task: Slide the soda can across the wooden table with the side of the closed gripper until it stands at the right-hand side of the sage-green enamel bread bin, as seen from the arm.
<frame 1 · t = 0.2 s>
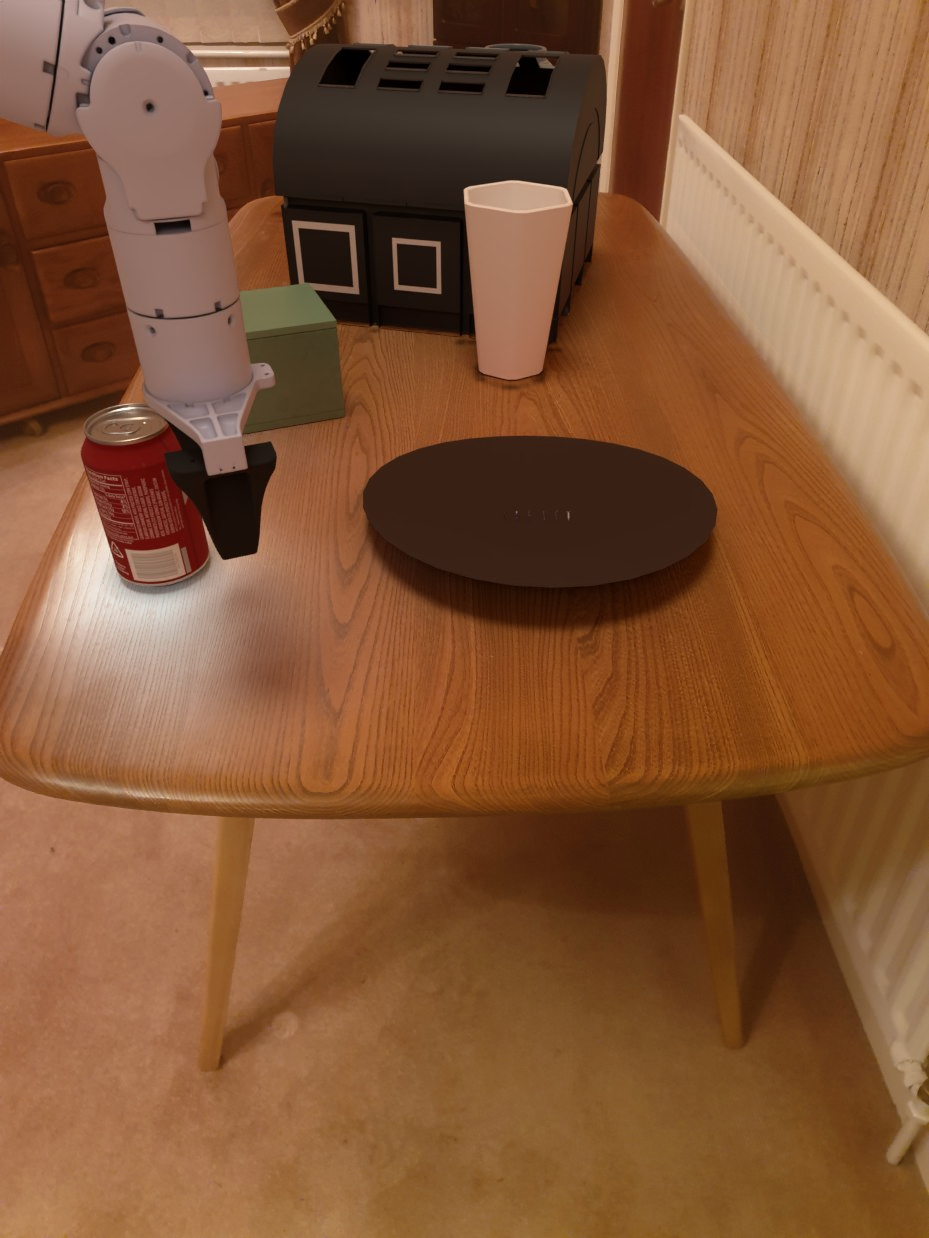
hand: (227, 520, 53), 9 cm above the table, tool pointing down, fingers open, 7 cm apart
vase: (508, 226, 134), on the table
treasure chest: (453, 288, 112), on the table
cup: (509, 367, 93), on the table
bread bin: (270, 404, 86), on the table
bread bin lid: (251, 294, 79), point 11 cm above the table, hinge at 0.0°
plate: (535, 519, 71), on the table
soda can: (166, 568, 65), on the table
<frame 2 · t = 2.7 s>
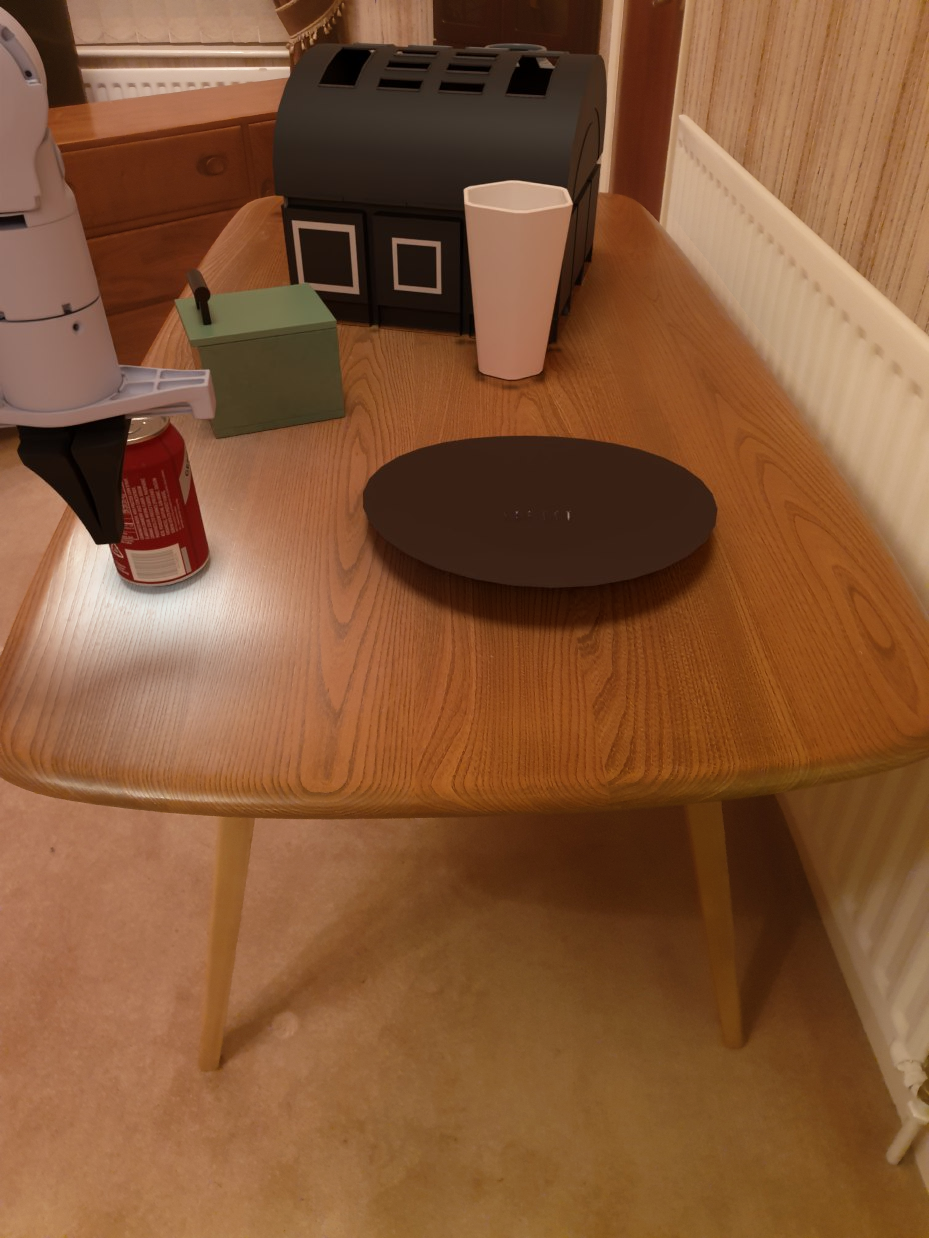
hand: (110, 534, 50), 10 cm above the table, tool pointing down, fingers closed
nothing on the table moved.
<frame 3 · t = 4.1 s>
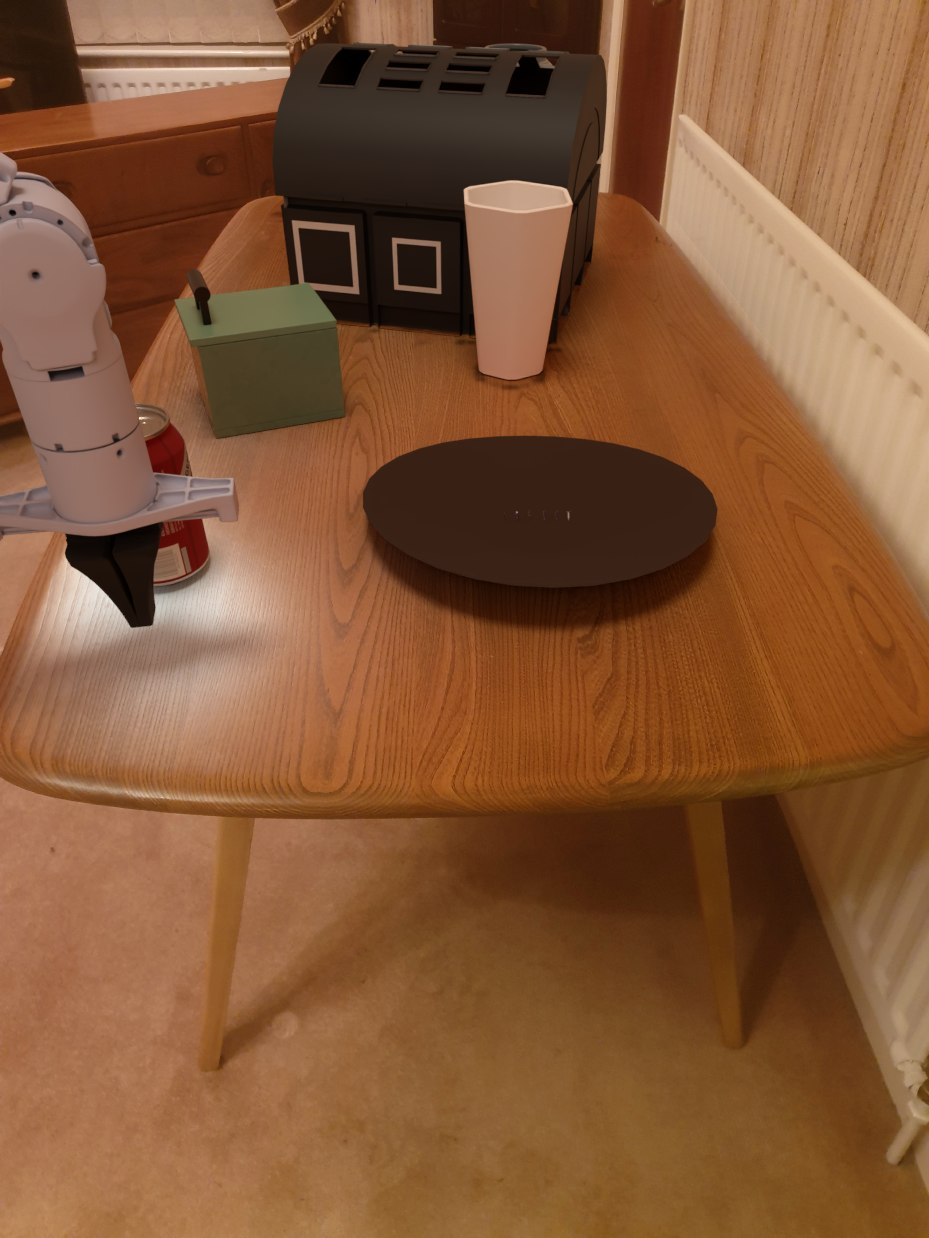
hand: (143, 617, 56), 3 cm above the table, tool pointing down, fingers closed
nothing on the table moved.
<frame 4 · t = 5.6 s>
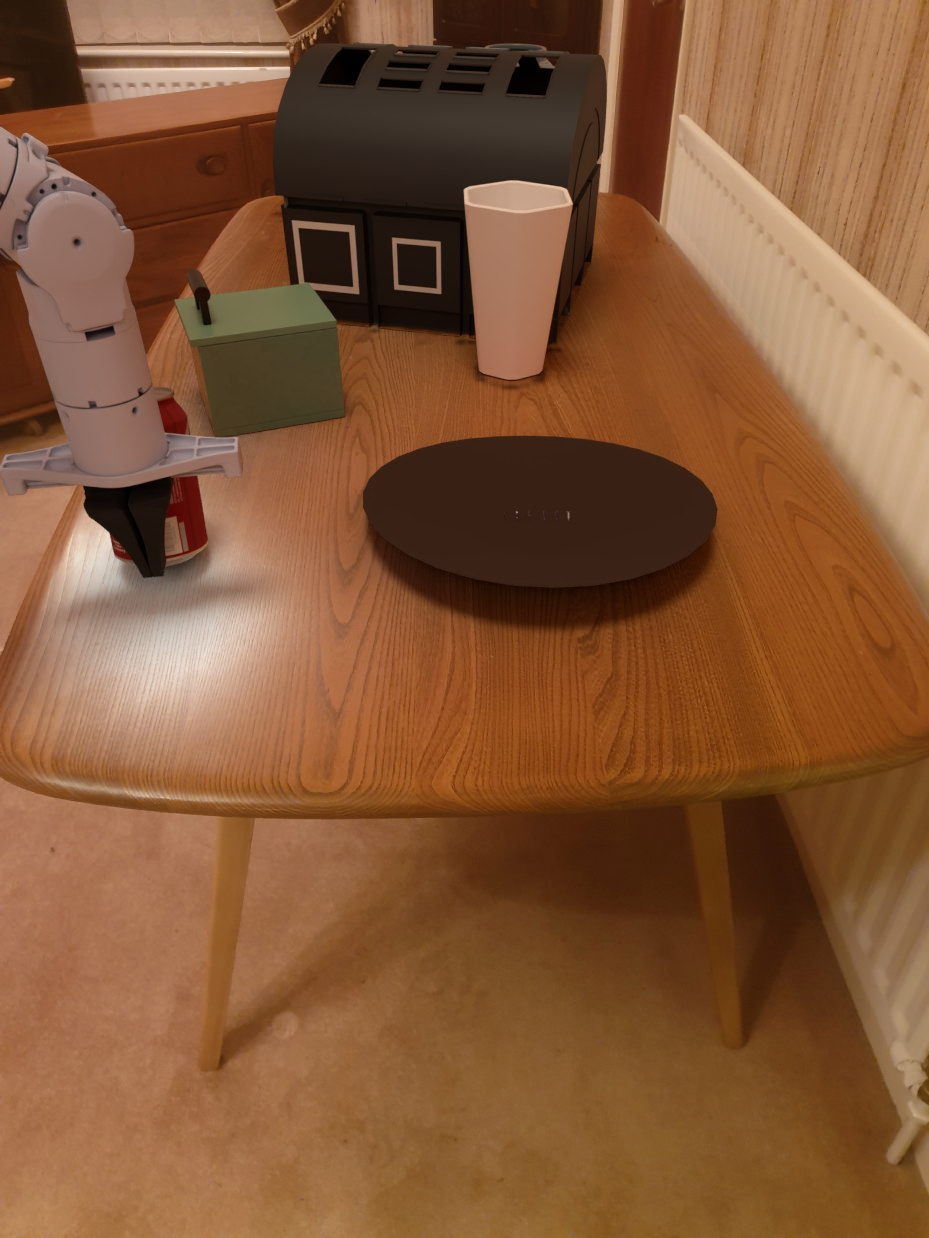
hand: (154, 569, 61), 3 cm above the table, tool pointing down, fingers closed, pressing on soda can
soda can: (163, 558, 65), point 1 cm above the table, touching gripper
everything else where it was.
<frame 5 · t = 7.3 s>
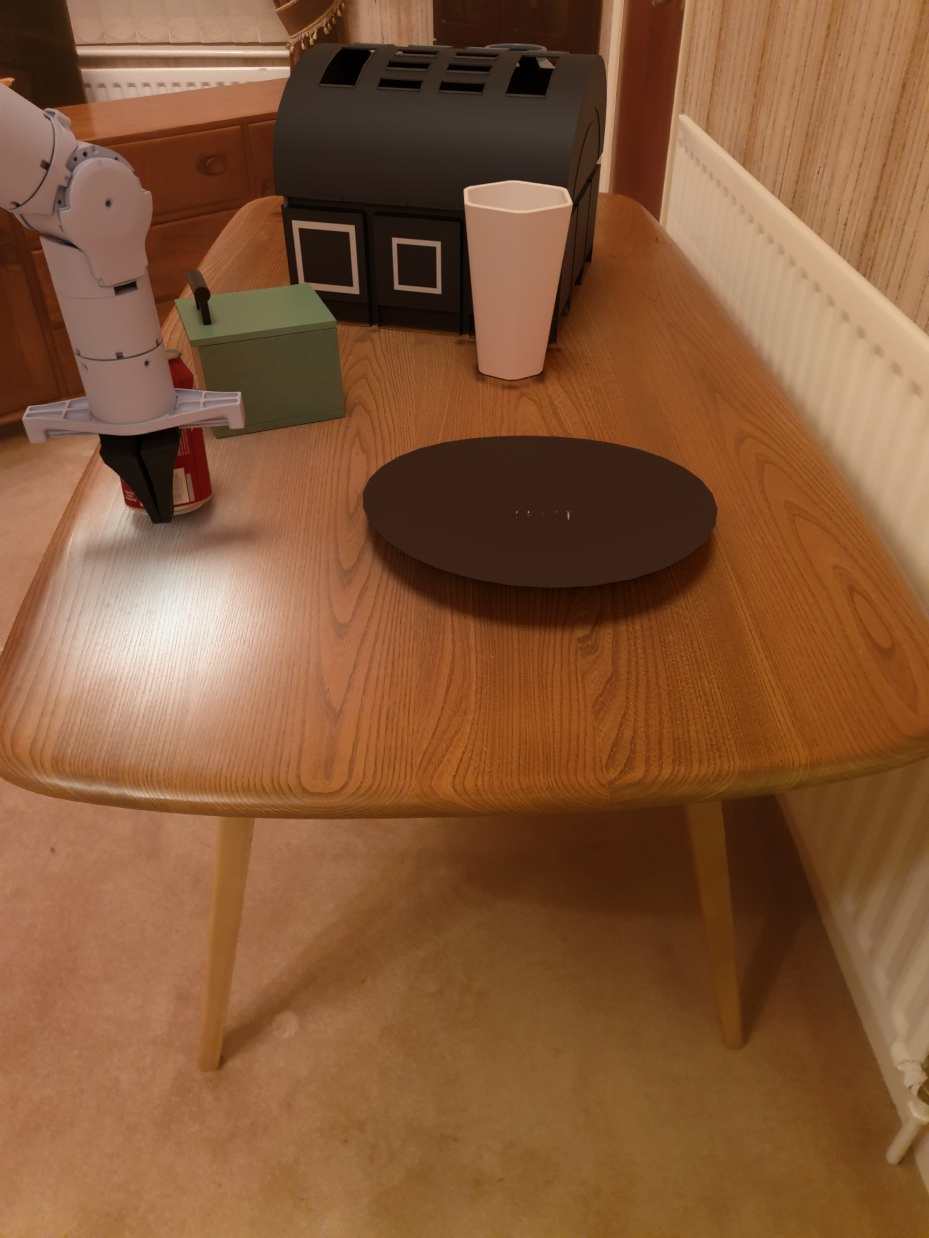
hand: (163, 516, 66), 3 cm above the table, tool pointing down, fingers closed, pressing on soda can
soda can: (171, 509, 70), point 1 cm above the table, touching gripper
everything else where it was.
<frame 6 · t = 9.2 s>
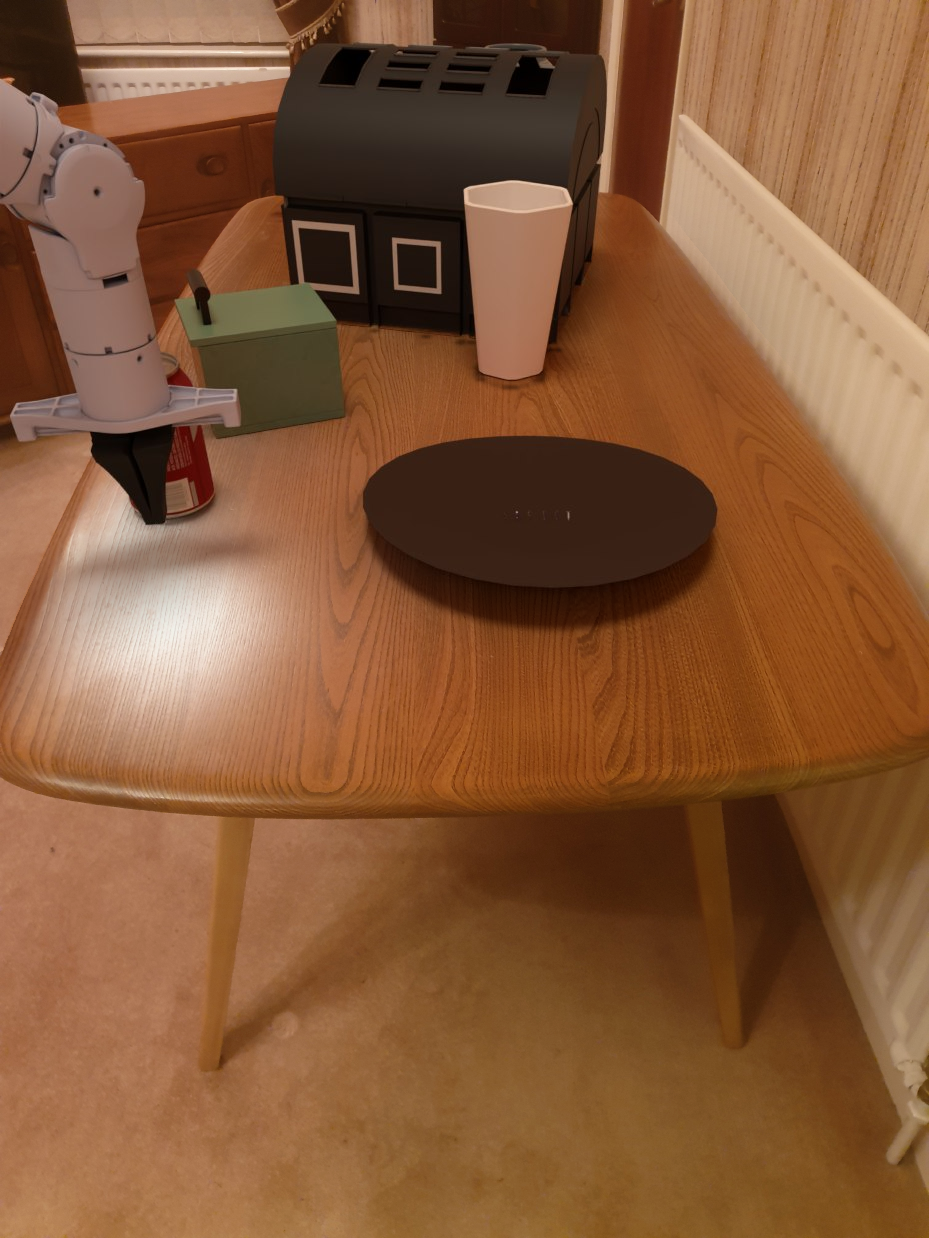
hand: (156, 517, 64), 4 cm above the table, tool pointing down, fingers closed
soda can: (175, 504, 72), on the table
everything else where it was.
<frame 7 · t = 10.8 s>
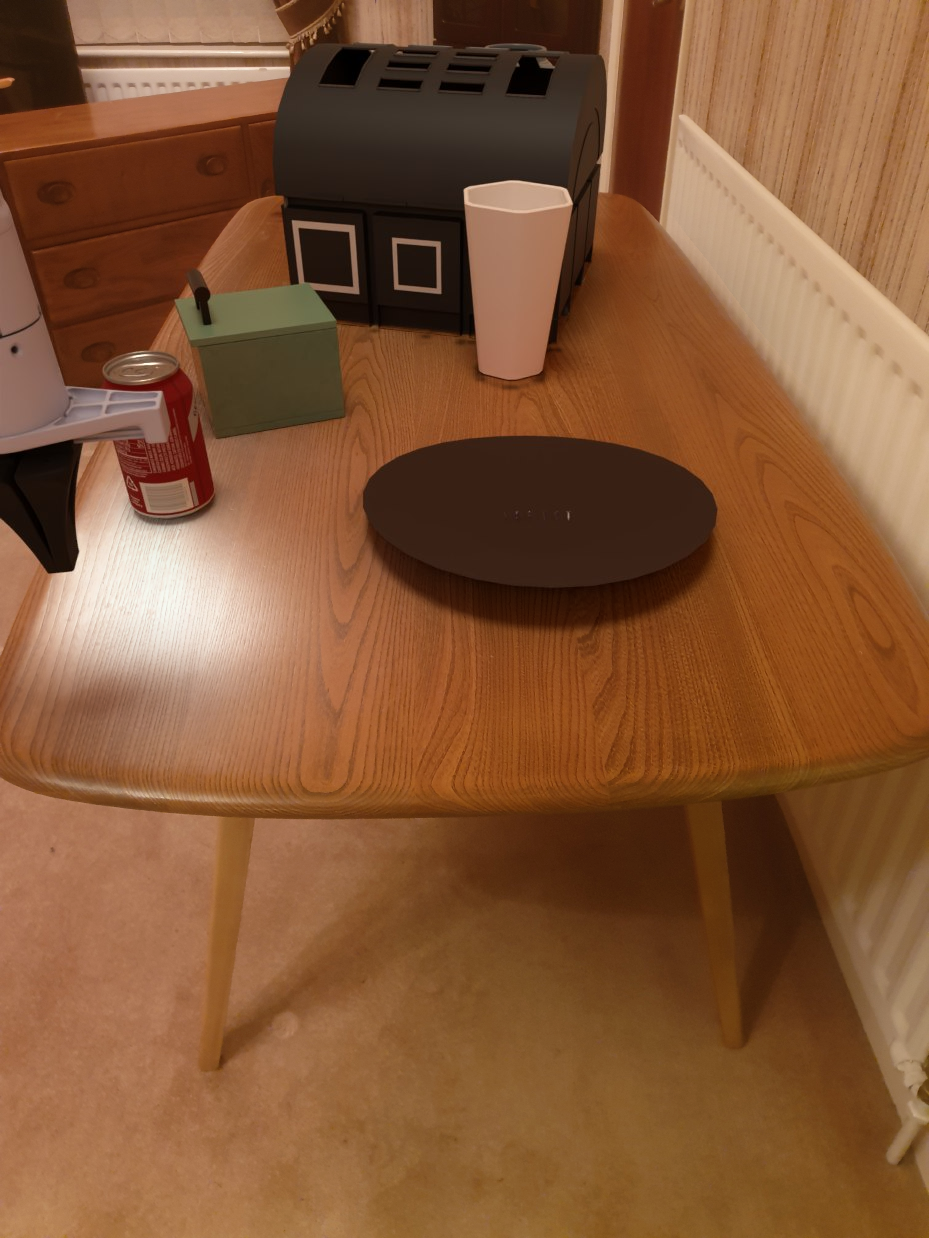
hand: (63, 562, 48), 10 cm above the table, tool pointing down, fingers closed
nothing on the table moved.
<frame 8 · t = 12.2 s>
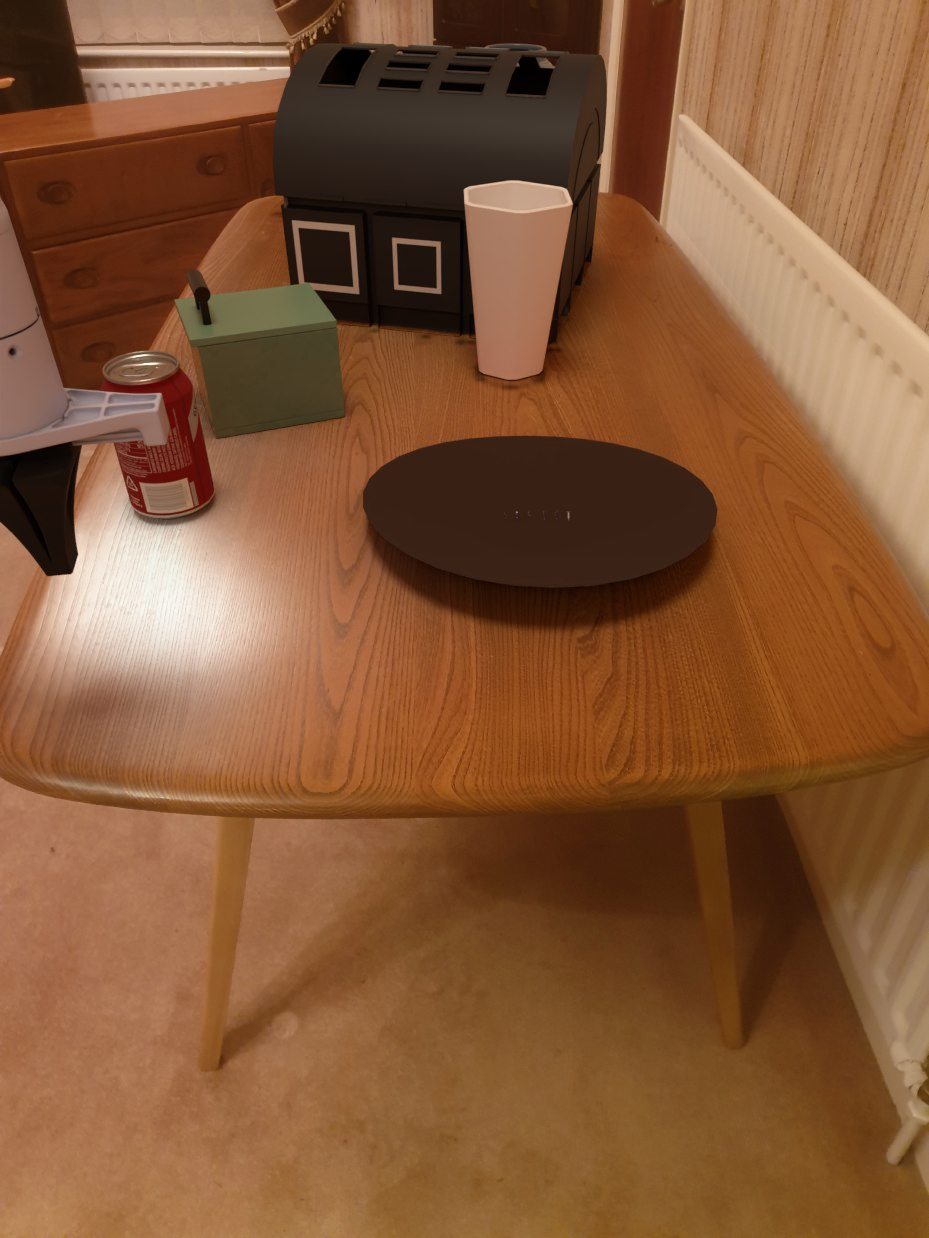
hand: (62, 564, 48), 10 cm above the table, tool pointing down, fingers closed
nothing on the table moved.
at the end: soda can inside the target area on the table beside the bread bin (5.1 cm from its centre), on the table; soda can tilted 0° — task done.
